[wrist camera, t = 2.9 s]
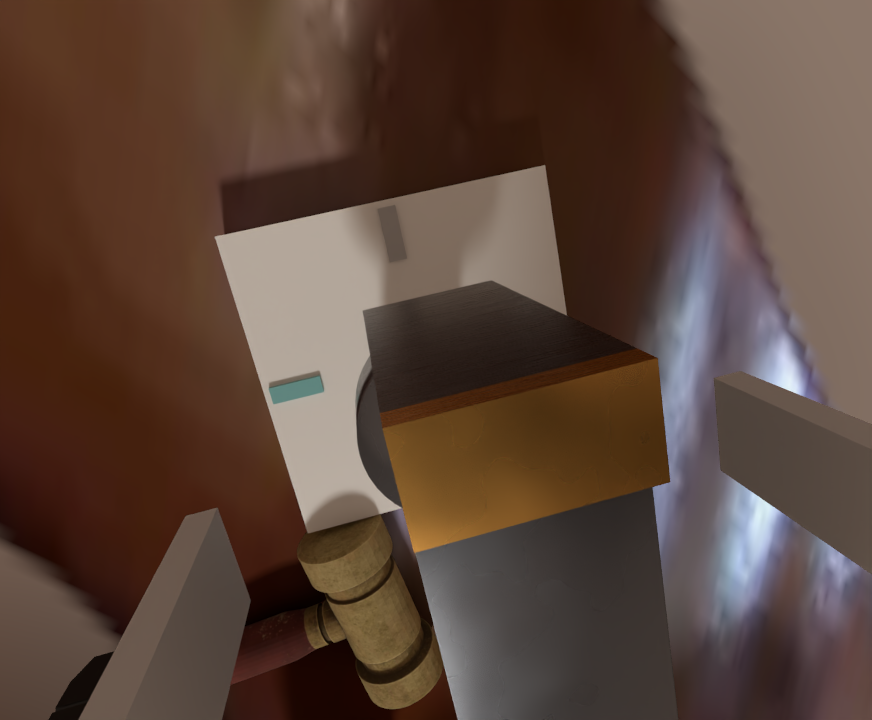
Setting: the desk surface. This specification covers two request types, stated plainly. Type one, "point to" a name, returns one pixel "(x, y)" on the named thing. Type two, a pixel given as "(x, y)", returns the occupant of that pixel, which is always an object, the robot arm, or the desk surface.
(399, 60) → the desk surface
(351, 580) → the gavel
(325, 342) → the base
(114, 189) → the desk surface
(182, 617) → the robot arm
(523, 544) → the grey block orange cap
